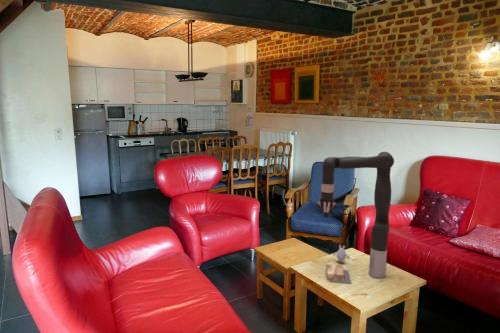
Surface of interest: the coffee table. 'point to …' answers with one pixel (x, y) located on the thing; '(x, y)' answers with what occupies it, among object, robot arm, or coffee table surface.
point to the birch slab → (335, 272)
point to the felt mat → (347, 278)
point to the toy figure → (341, 254)
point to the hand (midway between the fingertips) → (325, 217)
